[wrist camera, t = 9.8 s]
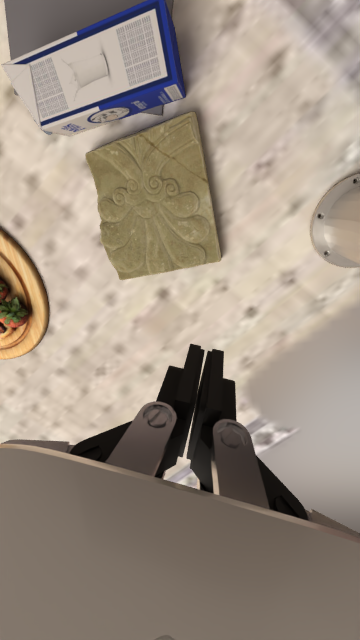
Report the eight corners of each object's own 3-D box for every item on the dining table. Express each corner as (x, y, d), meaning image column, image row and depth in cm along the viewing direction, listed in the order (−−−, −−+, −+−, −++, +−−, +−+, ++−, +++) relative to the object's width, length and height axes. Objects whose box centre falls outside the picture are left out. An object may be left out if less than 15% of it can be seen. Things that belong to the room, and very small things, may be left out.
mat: (176, -38, 29) (176, -41, 28) (162, 115, 35) (161, 114, 34) (0, -52, 31) (-2, -56, 30) (16, 95, 37) (14, 94, 36)
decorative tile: (197, 114, 35) (194, 105, 31) (222, 259, 42) (222, 263, 39) (80, 156, 39) (67, 152, 36) (122, 279, 47) (114, 285, 44)
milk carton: (162, -9, 24) (-2, 64, 29) (178, 81, 28) (27, 134, 32) (174, 27, 31) (37, 82, 35) (186, 97, 34) (58, 140, 38)
